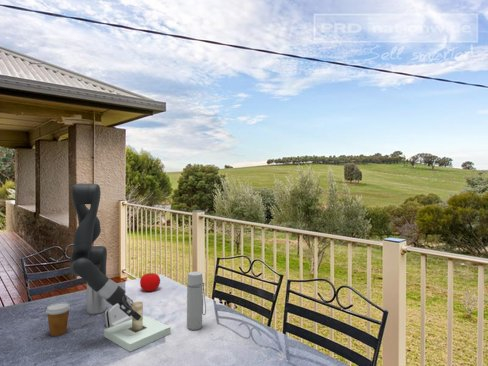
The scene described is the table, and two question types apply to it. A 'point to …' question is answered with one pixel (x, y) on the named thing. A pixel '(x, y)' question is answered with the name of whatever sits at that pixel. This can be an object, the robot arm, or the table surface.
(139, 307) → the birch pin
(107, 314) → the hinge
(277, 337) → the table surface
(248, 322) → the table surface
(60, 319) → the disposable coffee cup
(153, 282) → the tomato
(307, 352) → the table surface
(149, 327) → the collar block
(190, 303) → the water bottle
